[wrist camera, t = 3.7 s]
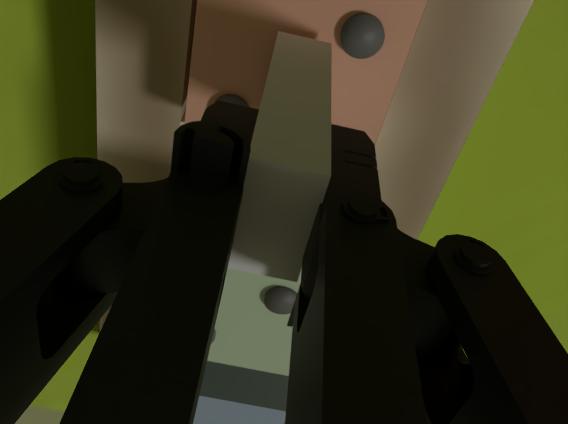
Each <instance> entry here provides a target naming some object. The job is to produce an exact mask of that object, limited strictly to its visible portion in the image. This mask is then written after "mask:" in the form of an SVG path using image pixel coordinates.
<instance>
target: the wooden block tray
mask: <svg viewBox="0 0 568 424" xmlns="http://www.w3.org/2000/svg"><path fill="white" fill-rule="evenodd" d="M533 1H534V0H428V1H427V4H426V7H425V9H424V12H423V15H422V18H421V20H420V23H419V26H418V28H417V31H416V34H415V37H414V39H413V42H412V45H411V48H410V50H409V53H408V56H407V58H406V61H405V64H404V67H403V69H402V72H401V75H400V78H399V80H398V83H397V86H396V89H395V91H394V94H393V97H392V99H391V102H390V105H389V108H388V110H387V113H386V116H385V119H384V121H383V124H382V127H381V129H380V132H379V135H378V138H377V140H376V143H375V152H376V160H377V170H378V176H379V184H380V191H381V199H382V201H383V202H384V203H385V204H386V205H387V206H388V207H389V208H390V209H391V210H392V211H393V214H394V216H395V218H396V222H397V228H398V229H399V230H400V231H402V232H403V233H405V234H407V235H409V236H410V237H412V238H414V239H418V237H419V235H420V233H421V231H422V229H423V227H424V225H425V223H426V221H427V219H428V217H429V215H430V212H431V210H432V208H433V206H434V204H435V202H436V200H437V198H438V196H439V194H440V192H441V190H442V188H443V186H444V184H445V182H446V180H447V178H448V176H449V174H450V171H451V169H452V167H453V165H454V163H455V161H456V159H457V157H458V155H459V153H460V151H461V149H462V147H463V145H464V143H465V141H466V139H467V137H468V135H469V133H470V130H471V128H472V126H473V124H474V122H475V120H476V118H477V116H478V114H479V112H480V110H481V108H482V106H483V104H484V102H485V100H486V98H487V96H488V94H489V92H490V89H491V87H492V85H493V83H494V81H495V79H496V77H497V75H498V73H499V71H500V69H501V67H502V65H503V63H504V61H505V59H506V57H507V55H508V53H509V50H510V48H511V46H512V44H513V42H514V40H515V38H516V36H517V34H518V32H519V30H520V28H521V26H522V24H523V22H524V20H525V18H526V16H527V14H528V12H529V9H530V7H531V5H532V3H533ZM196 6H197V0H95V21H96V93H97V160H102V161H105V162H107V163H109V164H110V165H112V166H114V167H116V168H117V170H118V171H119V172H120V173H121V175H122V180H123V183H144V182H154V181H159V180H163V179H165V178H168V177H169V174H170V172H171V161H172V150H173V139H174V132H175V131H176V130H177V129H178V128H179V127H180V126H181V125H184V123H185V113H186V104H187V94H188V84H189V74H190V65H191V55H192V45H193V35H194V26H195V16H196ZM111 306H112V305H111ZM111 306H110V308H111ZM110 308H109V309H108V310H107V311H106V313H105V314H104V315H103V316H102V317H101V319H100V331H101V329H102V326H103V324H104V322H105V320H106V317H107V315H108V313H109V310H110Z"/></svg>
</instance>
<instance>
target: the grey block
mask: <svg viewBox="0 0 568 424" xmlns="http://www.w3.org/2000/svg"><path fill="white" fill-rule="evenodd" d="M288 379H289V376H286V375H281V374H275V373H270V372H265V371H259V370H254V369H249V368H243V367H238V366H233V365H227V364H222V363H217V362H211V361H207V363H206V368H205V372H204V377H203V381H202V386H201V390H200V395H199V399H198V404H197V408H196V413H195V417H194V422H193V424H284V422H285V416H286V404H287V391H288Z"/></svg>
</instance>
